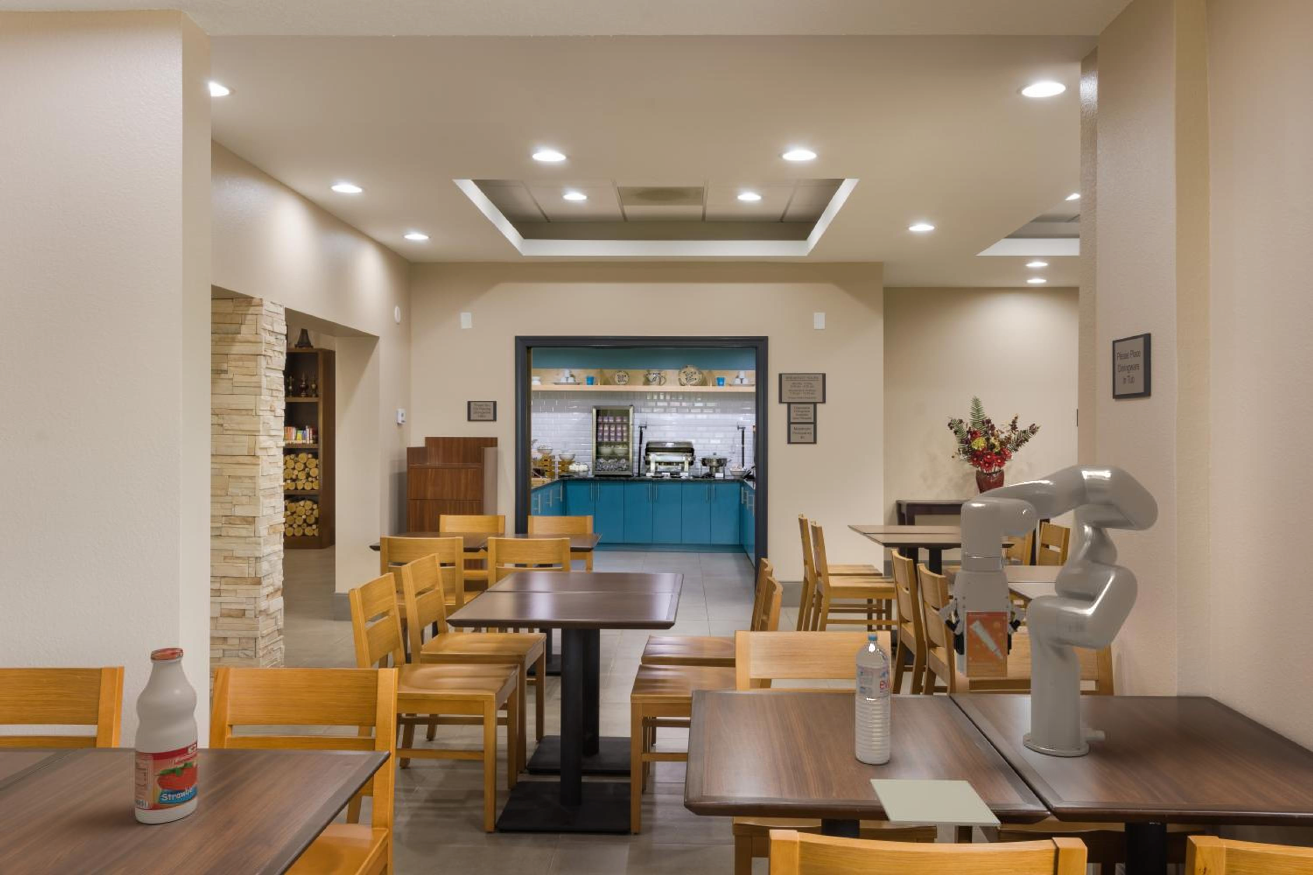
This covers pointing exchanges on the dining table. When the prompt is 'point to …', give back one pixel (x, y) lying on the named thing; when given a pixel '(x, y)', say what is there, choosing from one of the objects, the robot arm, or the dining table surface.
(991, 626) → the small box
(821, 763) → the dining table surface
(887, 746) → the water bottle
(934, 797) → the mat
